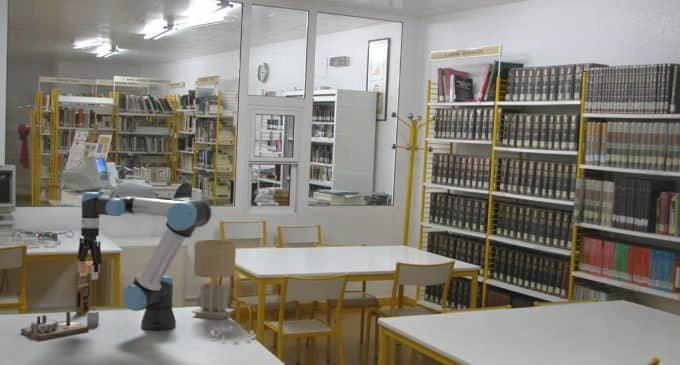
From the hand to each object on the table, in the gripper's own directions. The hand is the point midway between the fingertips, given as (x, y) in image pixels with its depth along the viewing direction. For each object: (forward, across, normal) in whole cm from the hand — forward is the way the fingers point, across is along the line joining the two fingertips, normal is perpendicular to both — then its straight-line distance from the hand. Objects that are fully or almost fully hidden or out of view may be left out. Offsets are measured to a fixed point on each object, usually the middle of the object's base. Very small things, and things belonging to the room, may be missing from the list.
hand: (89, 277), depth 333 cm
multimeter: (+22, -22, +14) cm, 34 cm away
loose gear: (-3, 0, 0) cm, 3 cm away
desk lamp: (+21, +20, +55) cm, 62 cm away
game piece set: (+22, +58, +35) cm, 71 cm away
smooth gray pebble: (+22, +1, +2) cm, 22 cm away
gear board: (+22, +1, -16) cm, 27 cm away
